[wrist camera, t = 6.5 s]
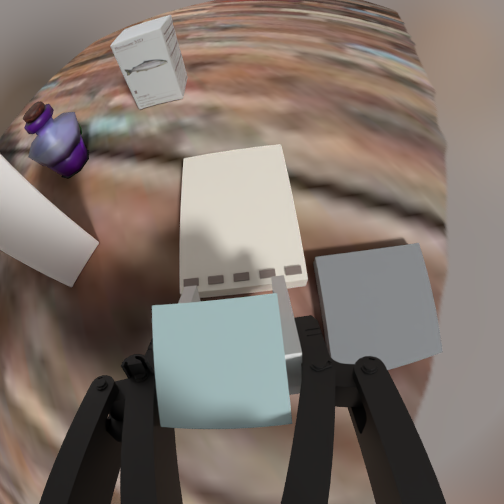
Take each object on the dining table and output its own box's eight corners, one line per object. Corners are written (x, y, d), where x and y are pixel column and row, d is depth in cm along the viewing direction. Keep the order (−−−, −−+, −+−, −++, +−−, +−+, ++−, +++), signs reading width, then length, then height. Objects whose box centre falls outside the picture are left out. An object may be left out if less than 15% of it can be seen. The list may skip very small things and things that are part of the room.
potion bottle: (105, 135, 33) (68, 76, 22) (88, 180, 30) (37, 120, 18) (64, 149, 33) (27, 100, 22) (47, 193, 30) (-2, 144, 19)
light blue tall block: (283, 387, 18) (292, 423, 7) (221, 392, 18) (160, 426, 8) (276, 326, 19) (276, 290, 9) (215, 332, 19) (152, 302, 9)
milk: (74, 222, 27) (-44, 99, 7) (100, 243, 26) (-44, 98, 5) (48, 263, 26) (-85, 161, 5) (71, 289, 24) (-94, 179, 4)
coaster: (433, 353, 19) (442, 352, 17) (330, 380, 19) (334, 382, 18) (412, 249, 22) (418, 242, 21) (313, 263, 23) (315, 256, 21)
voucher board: (305, 286, 22) (308, 278, 20) (187, 299, 23) (178, 293, 21) (281, 157, 28) (280, 142, 25) (188, 170, 28) (183, 157, 26)
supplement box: (138, 111, 34) (107, 46, 22) (148, 86, 37) (124, 28, 25) (184, 100, 34) (160, 27, 22) (189, 76, 36) (171, 13, 25)
